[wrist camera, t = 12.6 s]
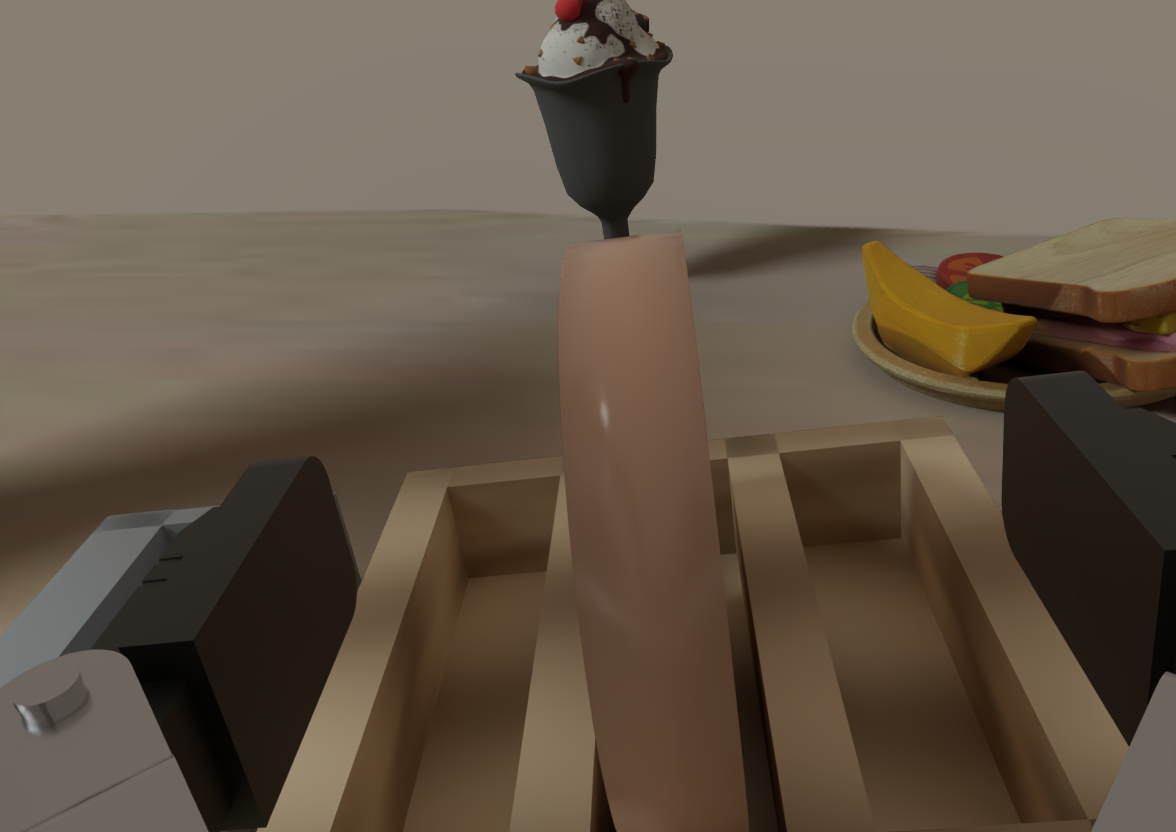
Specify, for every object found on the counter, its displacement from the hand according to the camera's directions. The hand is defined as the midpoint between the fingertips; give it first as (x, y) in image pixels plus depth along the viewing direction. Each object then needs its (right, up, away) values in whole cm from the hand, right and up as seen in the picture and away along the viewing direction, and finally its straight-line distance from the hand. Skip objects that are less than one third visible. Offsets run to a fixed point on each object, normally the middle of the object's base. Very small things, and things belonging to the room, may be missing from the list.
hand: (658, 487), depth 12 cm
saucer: (0, -1, +5) cm, 5 cm away
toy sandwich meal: (+16, +3, +23) cm, 28 cm away
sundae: (+1, +7, +35) cm, 36 cm away
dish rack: (+1, -6, +9) cm, 11 cm away
